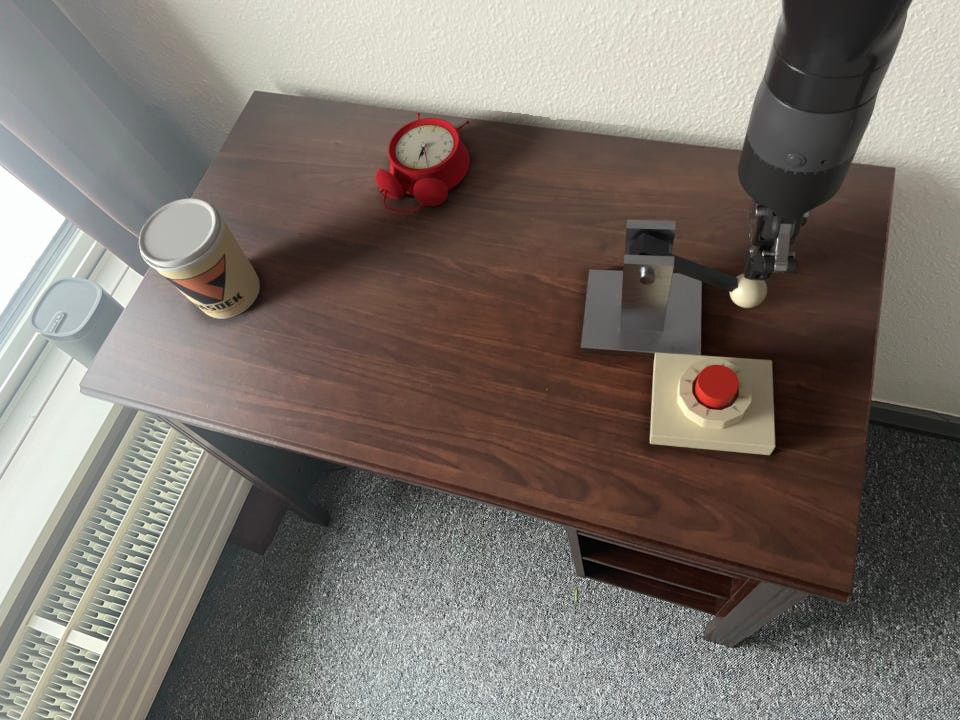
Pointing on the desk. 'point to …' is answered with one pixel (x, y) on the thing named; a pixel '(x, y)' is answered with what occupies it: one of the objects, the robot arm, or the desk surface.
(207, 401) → the desk surface
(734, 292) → the lever
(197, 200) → the cream tin can
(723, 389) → the button
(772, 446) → the control block
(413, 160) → the alarm clock
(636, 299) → the bracket
